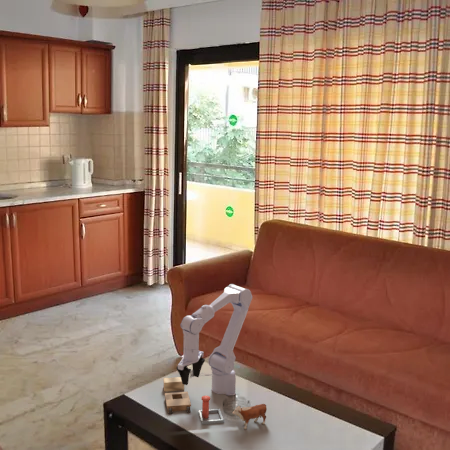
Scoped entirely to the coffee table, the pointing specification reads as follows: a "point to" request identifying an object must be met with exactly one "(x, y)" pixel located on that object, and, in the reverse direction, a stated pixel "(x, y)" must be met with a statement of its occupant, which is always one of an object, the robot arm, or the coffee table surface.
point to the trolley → (178, 401)
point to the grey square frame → (211, 420)
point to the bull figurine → (251, 413)
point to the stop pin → (205, 406)
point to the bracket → (199, 375)
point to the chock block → (173, 384)
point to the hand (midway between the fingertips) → (190, 380)
